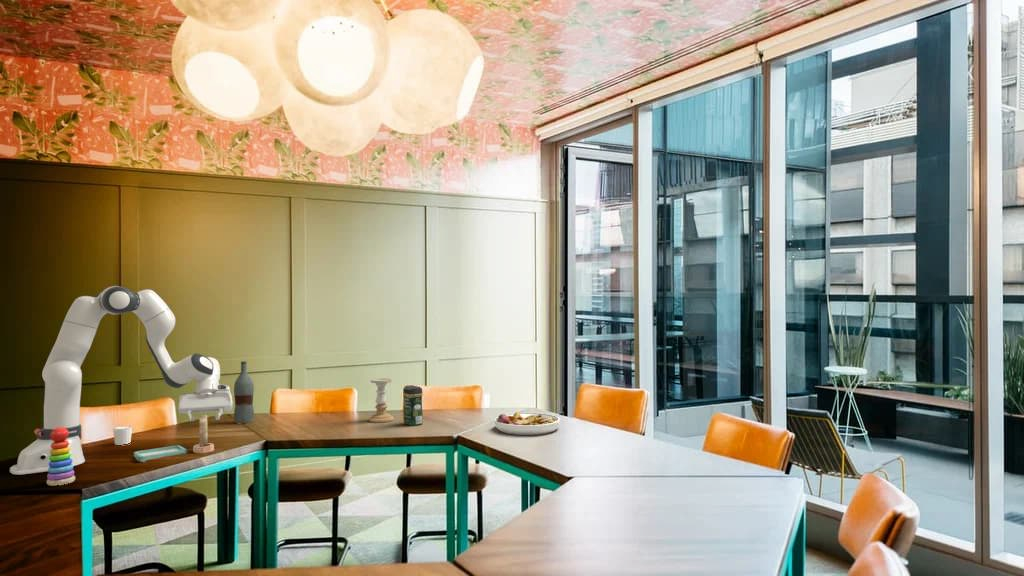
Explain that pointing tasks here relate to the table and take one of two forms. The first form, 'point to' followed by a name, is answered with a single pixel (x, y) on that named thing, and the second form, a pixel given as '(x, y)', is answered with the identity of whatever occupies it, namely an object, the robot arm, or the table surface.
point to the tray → (159, 453)
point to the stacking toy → (60, 459)
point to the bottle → (243, 397)
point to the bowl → (527, 423)
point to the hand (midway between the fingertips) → (204, 419)
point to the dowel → (203, 430)
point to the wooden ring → (203, 448)
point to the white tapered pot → (122, 435)
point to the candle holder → (381, 402)
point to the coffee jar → (412, 405)
